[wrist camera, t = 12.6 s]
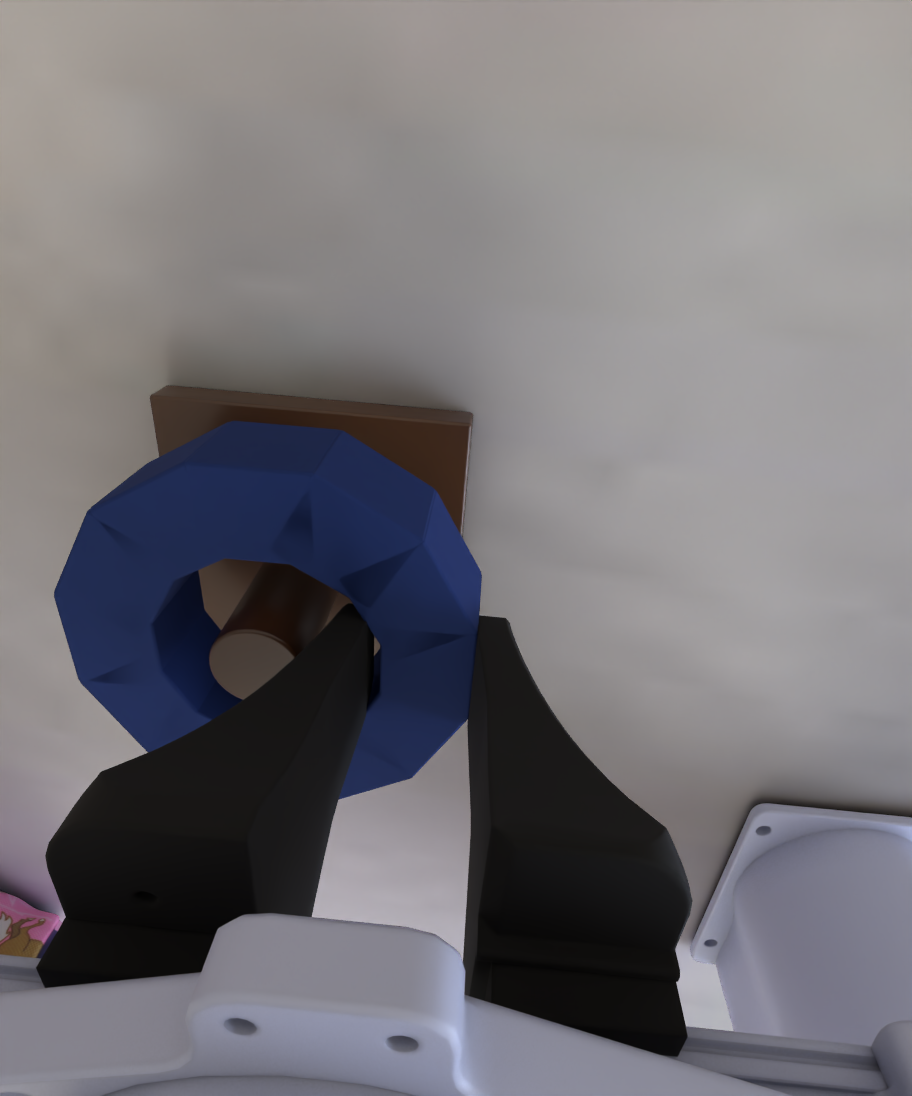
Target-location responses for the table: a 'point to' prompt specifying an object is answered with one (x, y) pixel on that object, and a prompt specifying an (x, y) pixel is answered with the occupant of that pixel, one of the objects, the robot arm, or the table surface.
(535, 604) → the table surface
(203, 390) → the stand
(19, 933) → the pencil case
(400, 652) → the ring
